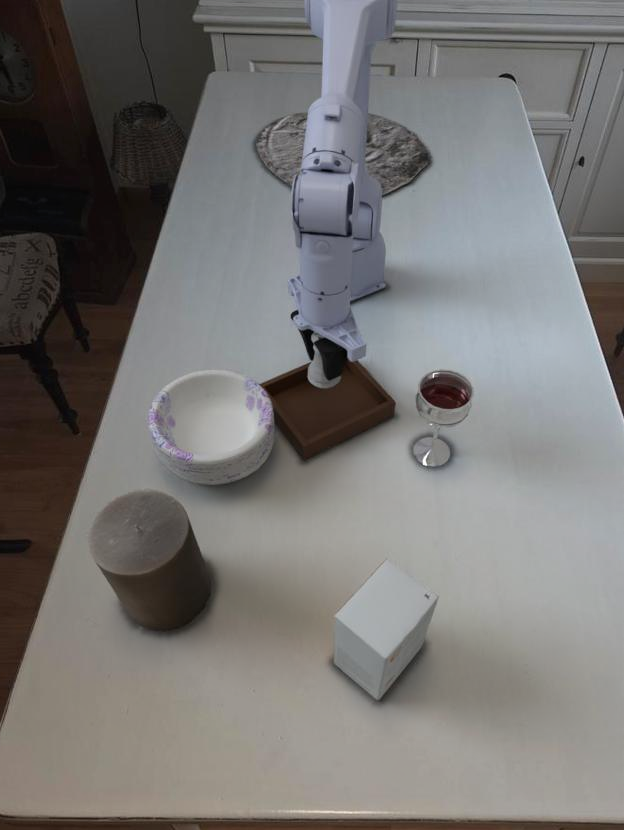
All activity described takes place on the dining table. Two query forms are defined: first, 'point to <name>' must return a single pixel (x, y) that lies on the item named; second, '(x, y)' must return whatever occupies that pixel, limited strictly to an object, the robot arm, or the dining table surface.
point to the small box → (382, 627)
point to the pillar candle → (151, 559)
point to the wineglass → (441, 411)
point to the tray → (327, 407)
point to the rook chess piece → (319, 368)
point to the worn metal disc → (385, 155)
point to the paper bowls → (212, 426)
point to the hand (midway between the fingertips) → (325, 366)
